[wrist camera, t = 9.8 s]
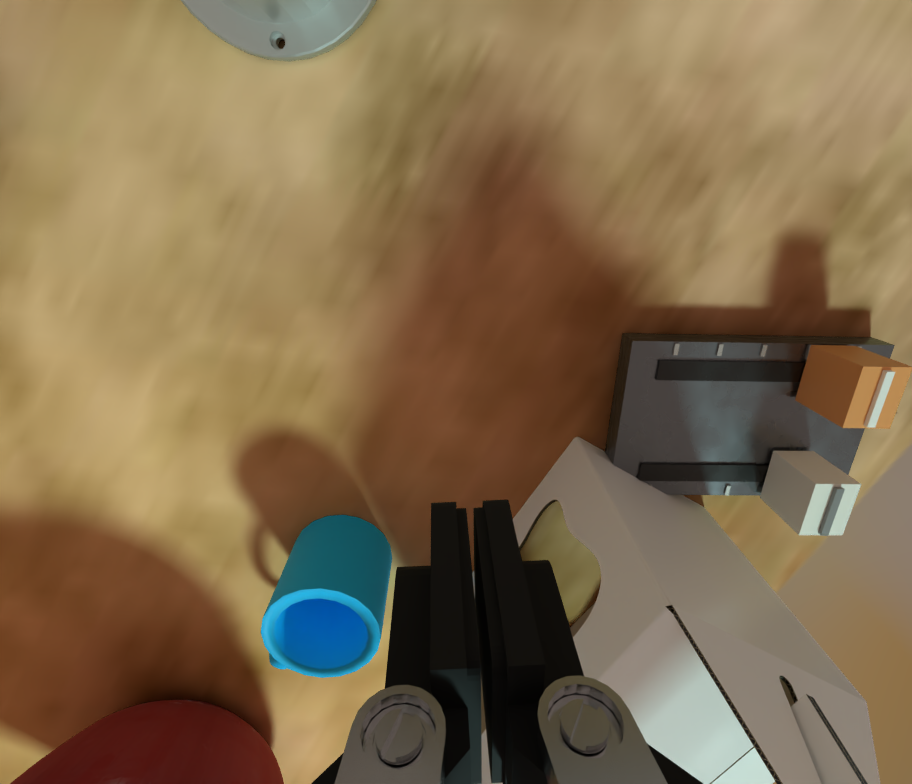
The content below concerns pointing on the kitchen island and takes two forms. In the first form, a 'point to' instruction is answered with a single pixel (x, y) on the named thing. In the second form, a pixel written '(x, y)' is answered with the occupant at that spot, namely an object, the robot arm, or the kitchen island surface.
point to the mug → (329, 599)
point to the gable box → (698, 638)
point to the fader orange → (852, 386)
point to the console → (719, 410)
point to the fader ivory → (809, 492)
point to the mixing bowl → (161, 749)
